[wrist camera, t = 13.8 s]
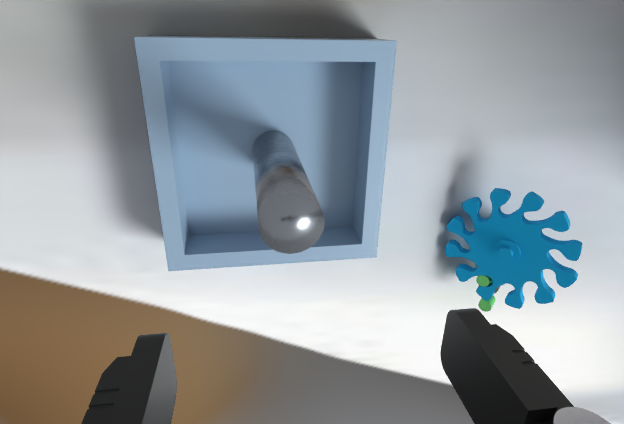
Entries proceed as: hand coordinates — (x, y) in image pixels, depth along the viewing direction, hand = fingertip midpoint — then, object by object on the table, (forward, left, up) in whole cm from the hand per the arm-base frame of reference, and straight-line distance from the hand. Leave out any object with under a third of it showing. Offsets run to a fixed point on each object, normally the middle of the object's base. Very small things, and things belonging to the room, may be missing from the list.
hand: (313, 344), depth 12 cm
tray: (0, 0, -21) cm, 21 cm away
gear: (-19, +8, -21) cm, 29 cm away
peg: (0, 0, -20) cm, 20 cm away
